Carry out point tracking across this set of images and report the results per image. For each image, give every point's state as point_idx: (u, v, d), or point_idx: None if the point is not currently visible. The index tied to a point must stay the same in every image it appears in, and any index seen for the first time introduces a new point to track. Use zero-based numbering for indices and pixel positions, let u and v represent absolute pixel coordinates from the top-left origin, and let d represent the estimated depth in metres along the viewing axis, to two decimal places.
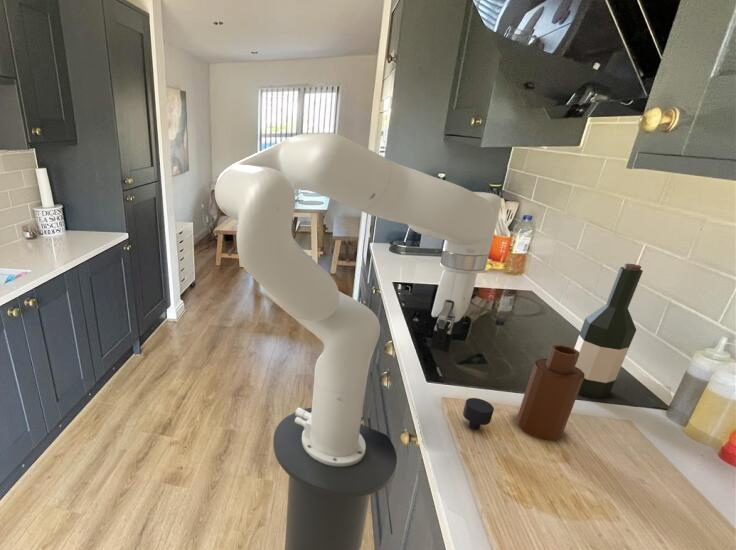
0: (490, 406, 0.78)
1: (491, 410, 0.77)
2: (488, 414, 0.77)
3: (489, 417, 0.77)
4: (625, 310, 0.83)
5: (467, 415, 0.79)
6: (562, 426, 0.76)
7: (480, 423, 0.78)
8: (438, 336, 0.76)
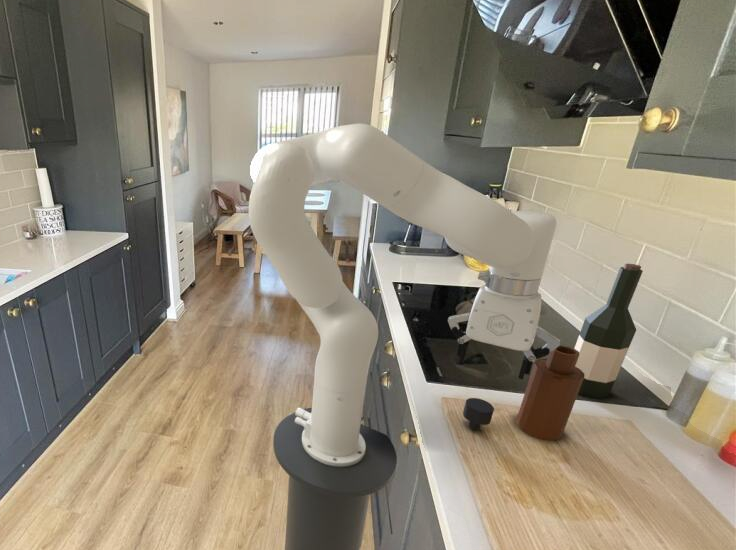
0: (490, 406, 0.78)
1: (491, 410, 0.77)
2: (488, 414, 0.77)
3: (489, 417, 0.77)
4: (625, 310, 0.83)
5: (467, 415, 0.79)
6: (562, 426, 0.76)
7: (480, 423, 0.78)
8: None
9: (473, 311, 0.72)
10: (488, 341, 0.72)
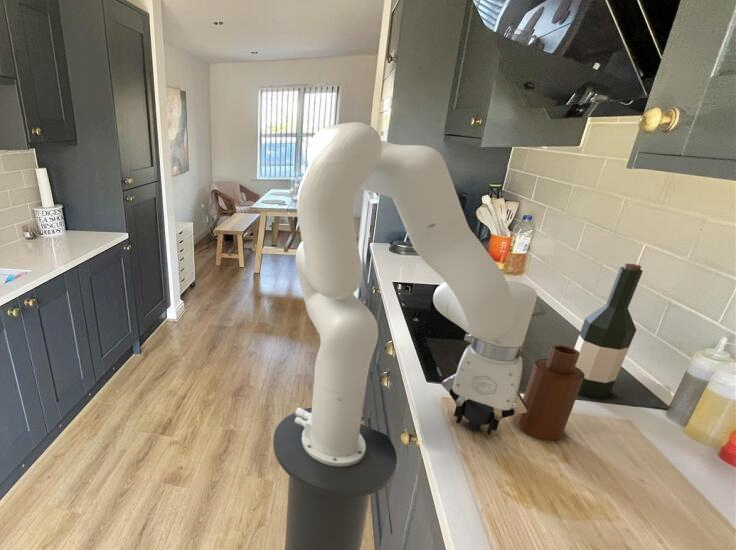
0: (490, 406, 0.78)
1: (491, 410, 0.77)
2: (488, 414, 0.77)
3: (489, 417, 0.77)
4: (625, 310, 0.83)
5: (467, 415, 0.79)
6: (562, 426, 0.76)
7: (480, 423, 0.78)
8: None
9: (459, 370, 0.77)
10: (473, 398, 0.77)
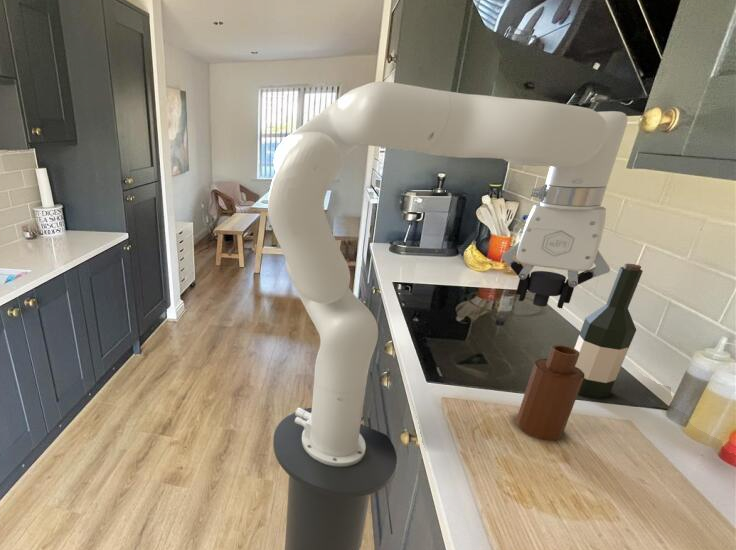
0: (560, 275, 0.68)
1: (563, 278, 0.67)
2: (560, 282, 0.66)
3: (561, 286, 0.67)
4: (625, 310, 0.83)
5: (533, 287, 0.69)
6: (562, 426, 0.76)
7: (550, 294, 0.67)
8: (572, 291, 0.66)
9: (526, 232, 0.66)
10: (542, 263, 0.66)
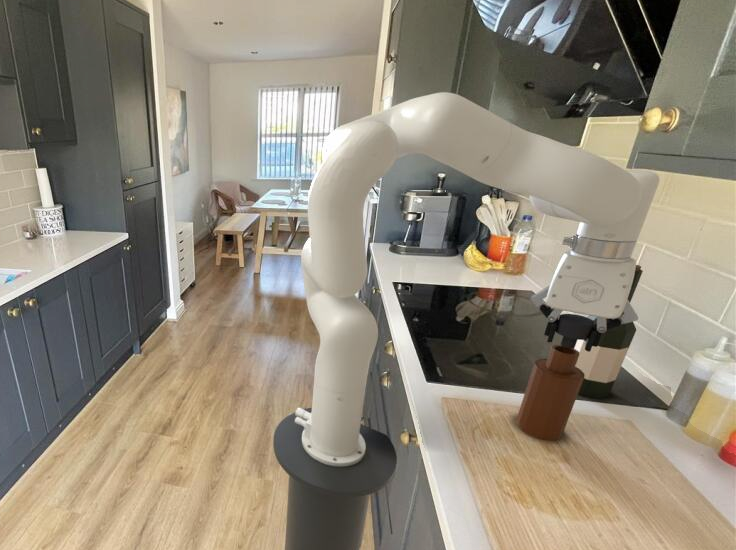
0: (589, 320, 0.71)
1: (592, 323, 0.70)
2: (589, 327, 0.69)
3: (589, 330, 0.70)
4: None
5: (562, 330, 0.71)
6: (562, 426, 0.76)
7: (579, 338, 0.70)
8: (600, 335, 0.69)
9: (556, 278, 0.69)
10: (572, 309, 0.69)
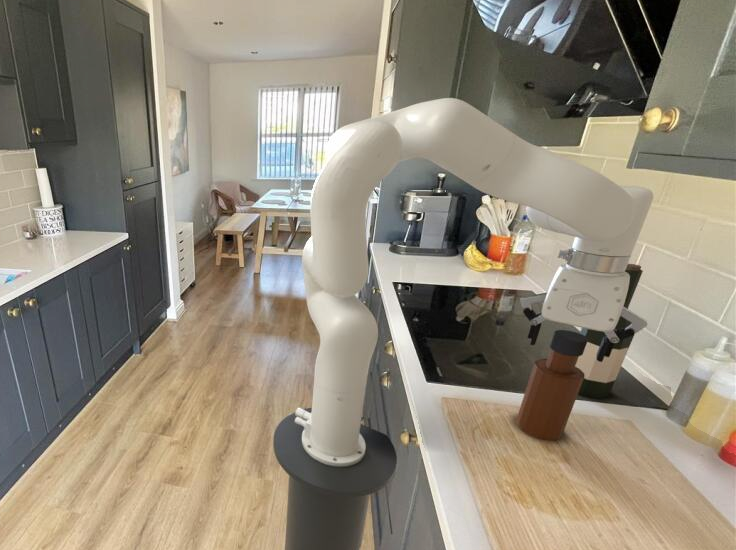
0: (582, 336, 0.72)
1: (585, 340, 0.71)
2: (583, 344, 0.70)
3: (583, 347, 0.71)
4: None
5: (557, 346, 0.73)
6: (562, 426, 0.76)
7: (573, 354, 0.71)
8: (613, 346, 0.69)
9: (552, 291, 0.70)
10: (567, 321, 0.70)
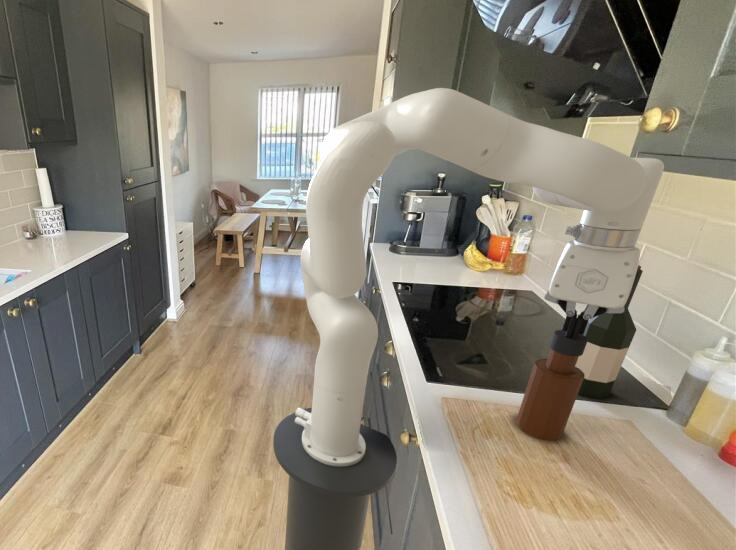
0: (582, 336, 0.72)
1: (585, 340, 0.71)
2: (583, 344, 0.70)
3: (583, 347, 0.71)
4: (625, 310, 0.83)
5: (557, 346, 0.73)
6: (562, 426, 0.76)
7: (573, 354, 0.71)
8: None
9: (559, 268, 0.69)
10: (575, 299, 0.68)
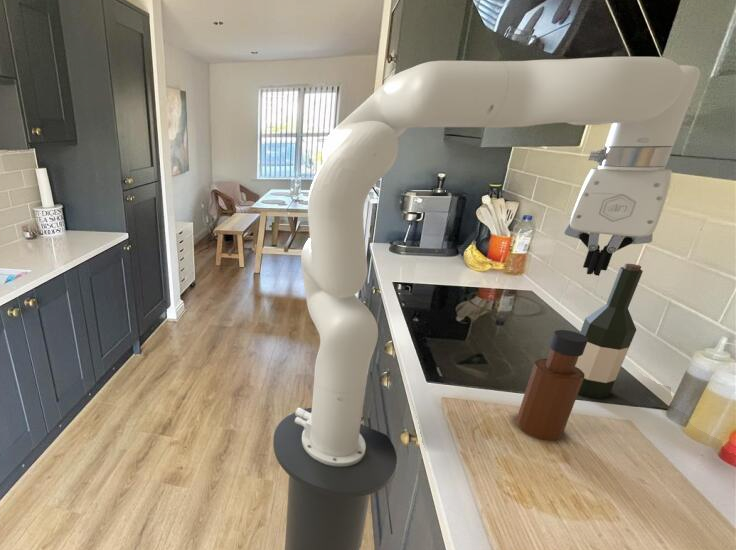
0: (582, 336, 0.72)
1: (585, 340, 0.71)
2: (583, 344, 0.70)
3: (583, 347, 0.71)
4: (625, 310, 0.83)
5: (557, 346, 0.73)
6: (562, 426, 0.76)
7: (573, 354, 0.71)
8: (610, 257, 0.65)
9: (582, 197, 0.64)
10: (599, 230, 0.64)
